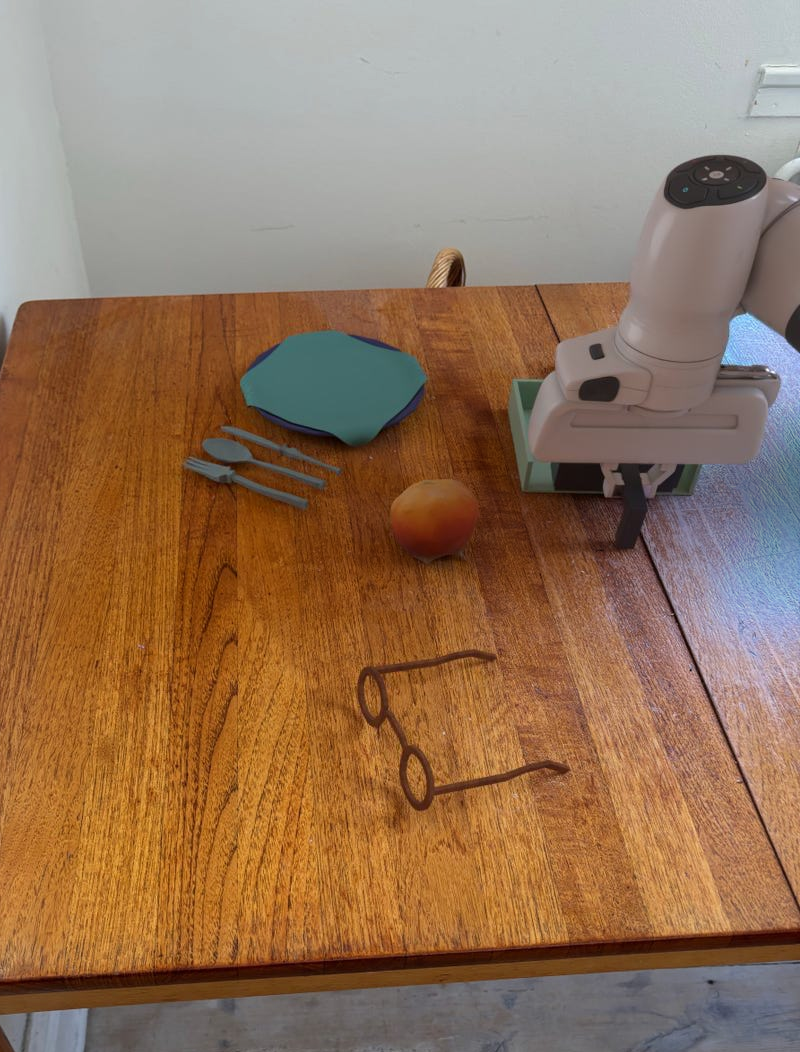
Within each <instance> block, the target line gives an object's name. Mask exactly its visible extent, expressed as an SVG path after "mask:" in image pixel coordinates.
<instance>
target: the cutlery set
mask: <svg viewBox="0 0 800 1052" xmlns="http://www.w3.org/2000/svg"><path fill="white" fill-rule="evenodd" d="M429 380H430V379H429V378H428V377H427V374H426V372H424V369H423V368H422V367H421V364H420V363H419V361H418V359H417V358H416V357H415V356H414V355H412V354H410V353H408V352H403V351H402V349H400V348H397V347H395V346H392V345H391V344H388V343H385V342H384V341H381V340H379V339H374V338H370V337H365V336H361V335H356V334H349V333H347V334H346V333H344V332H342V331H339V330H335V329H329V330H319V331H311V332H310V331H309V332H304V333H298V334H292V335H289V336H287V337H286V338H285V339H284V340H283V341H282V342H279V343H277V344H275V345H273V346H272V347H270V348H268V349H266V350H265V351H263V352H262V353H260V354H259V355H258V356H257V357H256V358H255V359H254V360H253V362H252V363H251V364H250V365H249V367H248V368H247V369H246V372H245V374H243V376H242V377H241V378H240V380H239V381H240V382H239V387H240V389H241V392H242V394H243V397H244V399H245V403H246V407H247V408H251V407H253V408H254V409H255V410H256V411H257V412H258V413H260V414H261V416H262V417H263V418H264V419H267V420H269V421H270V422H273V423H275V424H276V425H279V426H281V427H283V428H285V429H287V430H290V431H294V432H298V433H302V434H307V435H310V436H317V437H335V438H336V437H337V438H338V439H339V440H341V441H342V442H344V443H345V444H347V445H348V446H350V447H353V448H359V447H362V446H364V445H366V444H368V443H370V442H371V441H373V440H374V439H375V438H376V436H377V435H378V434H379V432H380V431H381V430H384V429H387V428H390V427H392V426H395V425H397V424H399V423H400V422H401V421H403V420H404V419H406V418H407V417H408V416H410V415H411V414H413V413H414V412H415V411H416V409H417V407H418V406H419V404H420V402H421V401H422V399H423V398H424V395H425V383H426V382H428V381H429ZM220 431H222V432H224V433H227V434H229V435H232V436H235V437H237V438H240V439H243V440H245V441H249V442H251V443H254V444H256V445H259V446H262V447H264V448H267V449H270V450H272V451H275V452H278V453H279V458H281V457H282V456H284V455H286V456H287V457H288V458H289V459H300V460H302V461H306V462H308V463H311V464H314V465H317V466H320V467H322V468H325V469H326V470H329V471H331V472H334V473H335V474H337V476H338V477H339V476H340V475H342V473H343V467H337V466H333V465H331V464H327V463H324V462H321V461H319V460H317V459H316V458H313V457H310V456H308V455H306V454H303V453H302V452H301V451H299V449H297V448H296V447H288V446H287V445H286V443H284V444H282V445H280V444H277V443H276V442H273V441H271V440H269V439H267V438H264V437H262V436H260V435H257V434H254V433H251V432H249V431H246V430H244V429H240V428H237V427H234V426H224V425H223V426H221V427H220ZM201 446H202V447H203V449H204V451H205V452H206V453H207V454H208V455H209V456H211V457H212V458H214V459H216V460H218V461H219V462H223V463H227V464H233V465H234V464H243V463H245V464H251V465H253V466H254V465H255V466H258V467H261V468H264V469H266V470H269V471H272V472H275V473H278V474H280V475H281V474H282V475H285V476H287V477H289V478H292V479H294V480H296V481H299V482H302V483H304V484H306V485H309V486H311V487H314V488H315V489H318V490H320V491H323V490H324V489H325V487H326V486H327V480H324V479H321V478H318V477H314V476H312V475H309V474H306V473H302V472H300V471H297V470H294V469H290V468H288V467H283V466H280V465H275V464H272V463H269V462H265V461H261V460H258V459H257V460H256V459H254V458H253V455H252V453H251V451H250V450H249V448H248V447H247V446H245V445H243V444H242V443H240V442H238V441H235V440H233V439H232V440H231V439H227V438H223V437H215V438H211V437H210V438H206V439H204V441H203V442H201ZM181 466H184V467H185V468H186V469H188V470H191V471H192V472H193V471H194V472H196V473H198V474H200V475H203V476H204V477H206V478H208V479H210V480H212V481H214V482H217V483H222V484H231V483H233V482H234V483H237V484H239V485H241V486H243V487H245V488H246V489H249V490H251V491H253V492H255V493H258V494H260V495H263V496H266V497H267V498H271V499H274V500H277V501H279V502H283V503H286V504H289V505H291V506H294V507H296V508H297V509H300V510H301V511H306V509H308V507H309V500H308V499H306V498H302V497H299V496H297V495H294V494H291V493H289V492H286V491H285V492H284V491H280V490H277V489H274V488H271V487H268V486H265V485H262V484H259V483H257V482H255V481H253V480H250V479H248V478H246V477H243V476H241V475H240V474H236V470H233V469H232V470H231V466H230V465H228V466H224V465H221V464H217V463H213V462H208V461H205V460H202V459H199V458H195V457H193V456H191V455H190V456H189V457H188V459H187V458H186V459H185V462H184V461H183V462H182V463H181Z"/></svg>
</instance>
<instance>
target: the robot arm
mask: <svg viewBox="0 0 800 1052" xmlns="http://www.w3.org/2000/svg"><path fill="white" fill-rule="evenodd" d="M644 218H645V219H644V221H643V223H642V227H641V231H640V234H639V237H638V241H637V243H636V247H635V250H634V255H633V258H632V259H633V260H632V263H631V268H630V273H629V279H628V280H629V298H628V301H627V304H626V306H625V307H624V309H623V311H622V313H621V315H620V317H619V320H618V324H615V325H612V326H609V327H606V328H604V329H601V330H597V331H595V332H591V333H587V334H584V335H579V336H575V337H572V338H568V339H565V340H563V341H561V342H559V343H558V344H557V346H556V348H555V352H554V367H555V369H554V370H553V371H551V372H550V373H549V374H548V375H547V376H546V377H545V378H544V379H545V380H544V381H543V383H542V385H541V387H540V389H539V392H538V394H537V397H536V400H535V403H534V406H533V409H531V410H532V413H531V417H530V422H529V426H528V443H529V448H530V451H531V453H532V455H533V456H534V457H535V459H536V460H537V461H539V462H566V463H600V466H601V469H602V472H603V474H604V476H605V479H604V483H603V491H604V494H603V495H604V498H611V499H613V498H614V499H615V498H621V497H622V491H623V490H624V486H625V483H624V480H623V476H622V473H613V471H612V470H617V468H618V465H619V463H644V464H655V465H654V466H653V467H652V468H651V469H650V470H649V471H648V472H647V473H640V477H641V481H642V485H643V490H644V494H645V498H646V499H654V498H655V496H656V495H655V493H656V489H657V486H658V485H660V484H661V483H662V482H663V481H664V480H665V479H667V478H668V477H669V476H670V475H671V474H672V473H674V472H675V469H676V466H677V464H703V465H722V466H723V465H729V466H730V465H731V466H732V465H734V466H739V465H740V466H743V465H747V464H749V463H750V462H752V461H753V460H754V459H755V458H757V457H758V456H759V453H760V451H761V448H762V444H763V441H764V437H765V433H766V428H767V423H768V415H769V409H771V407H772V406H773V405H774V404H775V402H776V400H777V398H778V396H779V392H780V390H781V385H782V380H781V377H780V375H779V374H778V373H777V372H776V371H774V370H771V369H770V367H769V366H768V365H766V364H751V365H742V364H734V363H731V364H729V363H725V364H724V363H723V359H724V356H725V353H726V350H727V346H728V344H729V341H730V326H731V325H730V324H731V322H732V320H733V319H734V318H736V317H739V316H743V315H746V314H748V315H749V316H750V317H752V318H753V319H755V320H756V321H758V322H760V323H761V324H762V325H764V326H765V327H767V328H768V329H769V330H770V331H773V332H774V333H775V334H777V335H778V336H780V337H781V338H783V339H784V340H785V341H786V343H787V344H788V345H789V346H790V347H791V348H792V349H794V350H795V351H796V352H797V353H798V354H800V185H799V184H797V183H795V182H791V181H788V180H785V179H782V178H779V177H770V176H768V174H767V173H766V171H765V169H764V168H762V166H761V165H760V164H758V163H756V161H753V160H751V159H749V158H746V157H742V156H737V155H730V154H711V155H710V154H709V155H703V156H699V157H695V158H691V159H688V160H686V161H683V162H682V163H680V164H678V165H676V166H675V167H674V168H672V169H671V170H670V171H669V173H667V175H666V176H664V179H663V180H662V182H661V183H660V184H659V187H658V189H657V190H656V193H655V195H654V197H653V198H652V201H651V202H650V206H649V208H648V210H647V213H646V215H645V217H644ZM621 499H622V498H621Z"/></svg>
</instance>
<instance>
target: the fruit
mask: <svg viewBox="0 0 800 1052" xmlns="http://www.w3.org/2000/svg"><path fill="white" fill-rule="evenodd" d="M479 507H480V506H479V503H478V499H477V497H476V496H475V493H473V491H472V490H471V489H470V488H469V487H467V486H466V485H465V484H463V482H460V481H458V480H456V479H450V478H442V479H423V480H420V481H416V482H413V483H412V484H411V485H410V486H408V487H407V488H406V489H405V490H404V491H403V492H401V494H399V495H398V497H396V498H395V499H394V500H393V502H392V503H391V506H390V525H391V528H392V533H393V535H394V537H395V539H396V542H397V544H398V545H399V546H400V547H401V548H402V549H403V550H404V552H405V553H406V554H407V555H408V556H411V557H413V558H414V559H417V560H419V561H420V562H423V563H424V564H425V565H426V567H429V565H430V564H431V562H433V561H435V560H437V559H439V558H441V557H444V556H445V557H446V556H449V555H451V556H452V555H453V556H460V557H462V558H463V560H465V561H467V558H466V556H465V555H464V553H463V549H465V547H467V545H468V542H469V541H470V539H471V537H472V535H473V533H474V530H475V527H476V524H477V521H478V516H479V510H480V508H479Z"/></svg>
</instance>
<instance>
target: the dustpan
mask: <svg viewBox="0 0 800 1052" xmlns="http://www.w3.org/2000/svg"><path fill="white" fill-rule="evenodd" d="M544 380H545V378H542V379H541V378H539V379H538V378H512V379H511V385H510V391H509V398H508V402H507V414H508V419H509V425H510V430H511V431H510V432H511V436H512V441H513V447H514V453H515V454H514V455H515V457H516V458H515V459H516V464H517V469H518V475H519V481H520V487H521V492H522V493H543V494H544V493H545V494H546V493H547V494H548V493H549V494H550V493H551V494H552V493H553V494H603V495H604V491H554V486H553V480H552V474H551V466H550V465H551V462H539V461H537V460H536V459H535V457H534V456H533V455H532V453H531V451H530V448H529V443H528V426H529V422H530V417H531V413H532V410H533V406H534V403H535V400H536V397H537V394H538V392H539V389H540V387H541V385H542V383H543V381H544ZM703 465H704V464H685V467H684V470H683V472H682V475H681V478H680V480H679V483H678V486H677V488H673V491H672V493H668V492H656V493H655V496H656V495H658V496H659V495H660V496H663V495H664V496H693V494H694V491H695V488H696V485H697V482H698V480H699V478H700V474H701V471H702V469H703Z"/></svg>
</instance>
